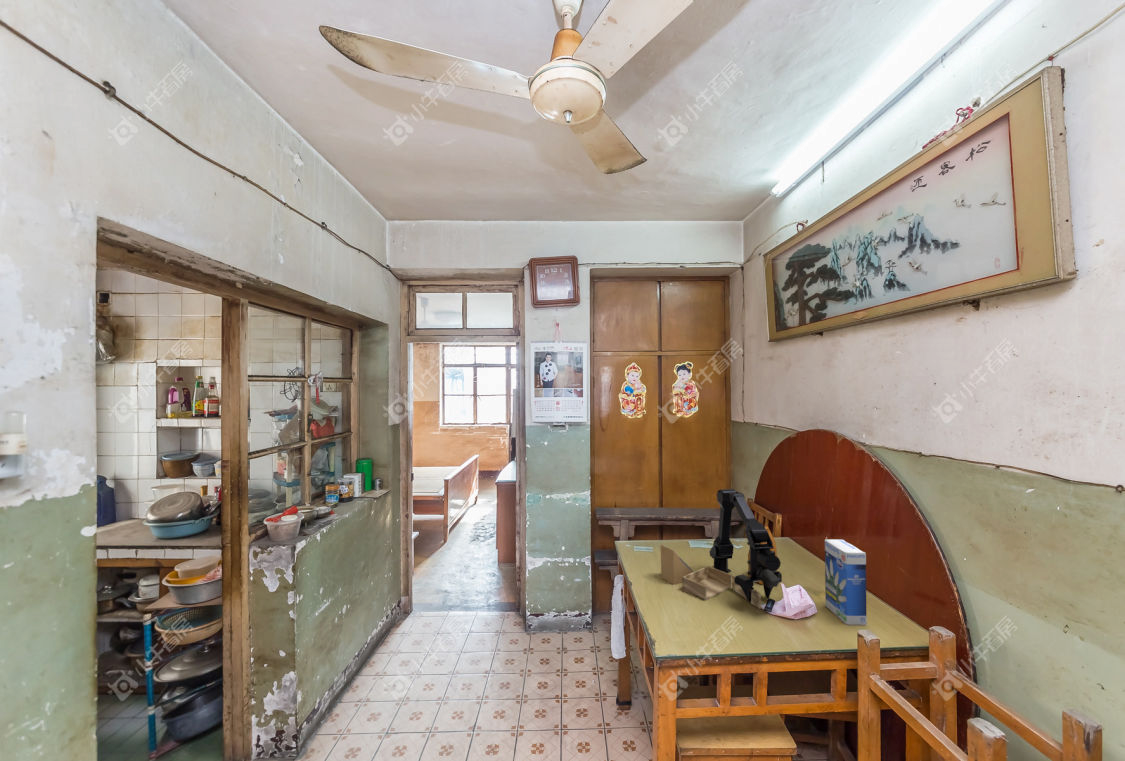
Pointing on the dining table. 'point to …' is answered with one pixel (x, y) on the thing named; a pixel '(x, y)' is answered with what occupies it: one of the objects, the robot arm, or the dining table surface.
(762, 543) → the coffee package
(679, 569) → the sandwich container
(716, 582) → the carton
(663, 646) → the dining table surface
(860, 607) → the string lights box
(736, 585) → the flap
